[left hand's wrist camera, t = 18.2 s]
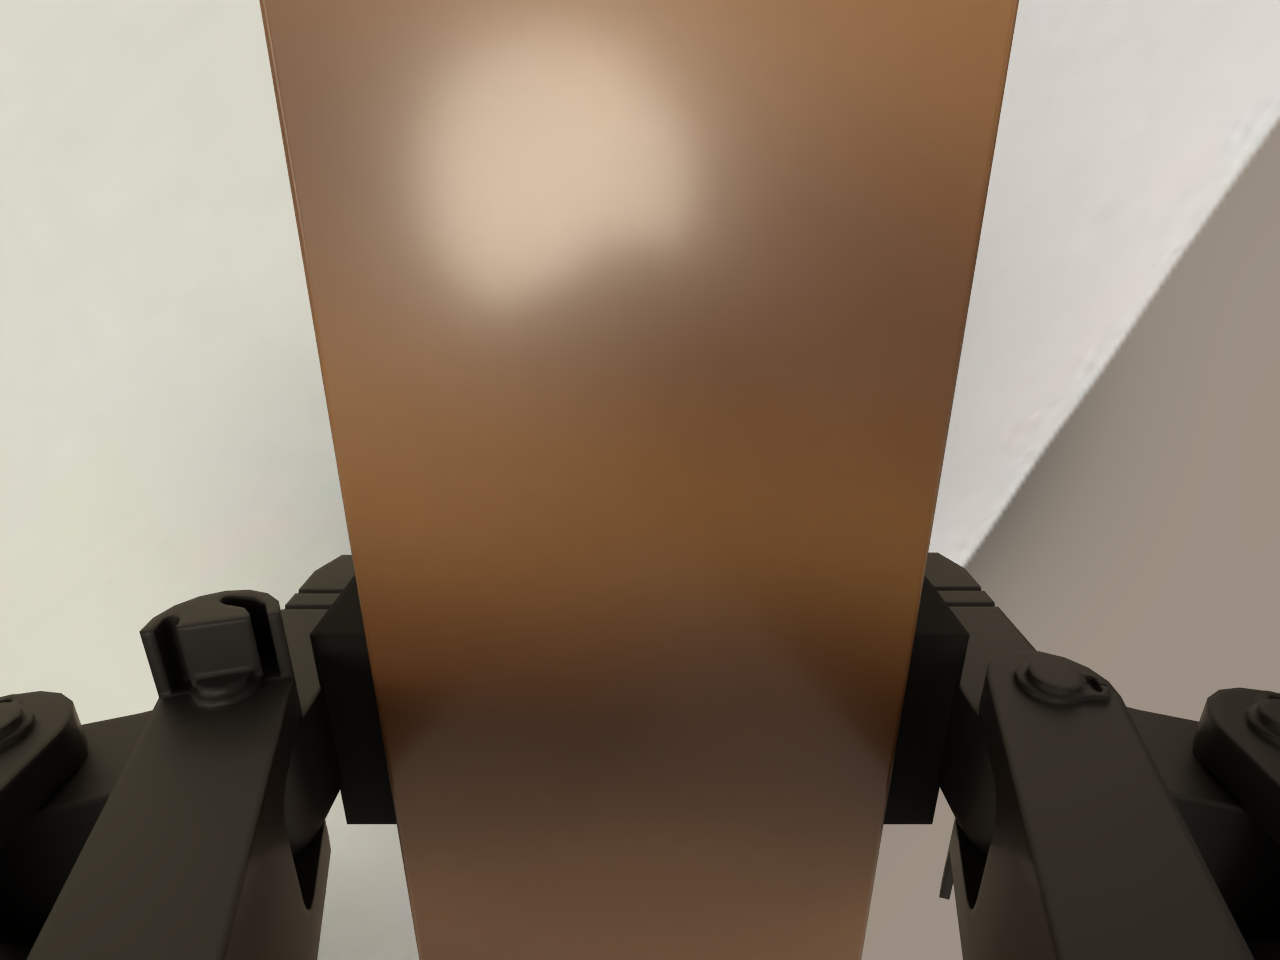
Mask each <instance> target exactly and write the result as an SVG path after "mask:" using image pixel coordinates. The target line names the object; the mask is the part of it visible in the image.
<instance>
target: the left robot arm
mask: <svg viewBox="0 0 1280 960" xmlns="http://www.w3.org/2000/svg"><path fill="white" fill-rule="evenodd" d="M994 604H995V603H994V602H993V600H992V599H991V598H990V597H989V596H988V595H987V594H986V592H985V591H981V587H980V586H979V584H978V583H977V582H976V581H975V580H974V579H973V578H972V576H971V575H970V574H969V573H968V572H967V571H966V570H965V568H963V567H961V566H959V565H958V564H956V563H954V562H953V561H951V560H949V559H947V558H946V557H944V556H942V555H941V554H939V553H928V556H927V562H926V568H925V574H924V580H923V586H922V592H921V599H920V605H919V611H918V617H917V623H916V629H915V635H914V641H913V647H912V653H911V659H910V665H909V671H908V678H907V684H906V690H905V696H904V702H903V708H902V714H901V720H900V726H899V732H898V738H897V744H896V751H895V757H894V763H893V769H892V775H891V781H890V787H889V793H888V799H887V805H886V811H885V817H884V823H883V824H932V822H933V817H934V812H935V807H936V802H937V797H938V792H939V787H940V788H941V790H942V792H943V794H944V796H945V798H946V800H947V802H948V804H949V806H950V808H951V810H952V812H953V814H954V816H955V821H954V826H953V830H952V835H951V840H950V844H949V849H948V854H947V859H946V863H945V868H944V873H943V877H942V882H941V889H940V896H939V897H941V898H945V899H949V898H950V894H951V889H952V885H953V883H954V891H955V899H956V907H957V915H958V923H959V930H960V938H961V946H962V954H963V960H1280V693H1275V692H1271V691H1261V690H1254V689H1246V688H1232V689H1223V690H1218V691H1217V692H1215V693H1214V694H1213V695H1211V696H1210V697H1208V699H1207V702H1206V704H1205V707H1204V710H1203V713H1202V716H1201V718H1200V721H1199V722H1197V721H1192V720H1187V719H1182V718H1177V717H1172V716H1167V715H1162V714H1157V713H1152V712H1146V711H1141V710H1137V709H1133V708H1129V707H1126V706H1125V704H1124V702H1123V700H1122V698H1121V696H1120V695H1119V694H1118V692H1117V691H1116V690H1115V689H1114V688H1113V686H1112V685H1111V684H1110V683H1109V682H1108V681H1107V680H1106V679H1104V678H1103V677H1101V676H1100V675H1098V674H1097V673H1095V672H1094V671H1092V670H1091V669H1089V668H1088V667H1085V666H1083V665H1081V664H1078V663H1076V662H1074V661H1071V660H1069V659H1067V658H1064V657H1060V656H1056V655H1052V654H1048V653H1044V652H1040V651H1036V650H1035V648H1034V647H1033V646H1032V645H1031V644H1030V643H1029V642H1028V640H1027V639H1026V638H1025V637H1024V636H1023V635H1022V634H1021V632H1020V631H1019V630H1018V629H1017V628H1016V627H1015V626H1014V624H1013V623H1012V622H1011V621H1010V620H1009V619H1008V618H1007V616H1006V615H1005V614H1004V613H1003V612H1002V611H1001V610H1000V608H999V607H995V605H994ZM140 635H141V638H142V642H143V645H144V648H145V652H146V655H147V658H148V662H149V665H150V668H151V672H152V675H153V678H154V682H155V685H156V688H157V692H158V695H159V699H158V701H157V703H156V705H155V707H154V709H153V710H152V711H148V712H144V713H140V714H135V715H129V716H124V717H119V718H114V719H109V720H104V721H99V722H94V723H89V724H84V725H81V723H80V721H79V718H78V715H77V712H76V709H75V707H74V704H73V701H71V700H70V699H69V698H67V697H66V696H64V695H63V694H61V693H53V692H44V691H38V692H30V693H23V694H12V695H8V696H3V697H0V960H317V956H318V948H319V940H320V932H321V924H322V916H323V909H324V901H325V893H326V885H327V877H328V869H329V861H330V853H331V849H330V842H329V835H328V830H327V826H326V821H325V818H326V816H327V814H328V812H329V810H330V808H331V806H332V804H333V802H334V800H335V798H336V796H337V794H338V792H339V790H341V795H342V800H343V805H344V810H345V816H346V821H347V824H397V822H396V816H395V810H394V804H393V798H392V792H391V786H390V780H389V774H388V768H387V762H386V756H385V750H384V744H383V738H382V732H381V726H380V720H379V714H378V708H377V702H376V696H375V690H374V684H373V678H372V672H371V666H370V660H369V654H368V648H367V642H366V636H365V630H364V624H363V618H362V612H361V606H360V600H359V594H358V588H357V582H356V576H355V570H354V564H353V558H352V555H341V556H340V557H338V558H336V559H335V560H333V561H331V562H329V563H328V564H326V565H324V566H323V567H321V568H319V569H318V570H316V571H315V572H314V573H313V574H312V575H311V576H310V577H309V579H308V580H307V581H306V582H305V583H304V584H303V585H302V587H301V588H300V589H299V593H298V594H295V595H294V596H293V597H292V598H291V599H290V600H289V602H288V603H287V604H286V605H285V609H282V610H280V605H279V601H278V600H276V599H275V598H274V597H272V596H271V595H269V594H268V593H263V592H258V591H253V590H236V591H223V592H218V593H214V594H209V595H204V596H199V597H197V598H194V599H191V600H189V601H186V602H183V603H180V604H178V605H175V606H173V607H171V608H170V609H168V610H166V611H164V612H163V613H161V614H159V615H157V616H156V617H154V618H153V619H152V620H151V621H150V622H149V623H148V624H147V625H146V626H145V627H144V628H143V629H142V630H141V631H140Z"/></svg>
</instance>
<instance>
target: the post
mask: <svg viewBox="0 0 1280 960" xmlns="http://www.w3.org/2000/svg"><path fill="white" fill-rule="evenodd" d="M1018 3H1019V0H260V6H261V12H262V18H263V24H264V30H265V36H266V42H267V48H268V54H269V60H270V66H271V72H272V78H273V84H274V90H275V96H276V102H277V108H278V114H279V120H280V126H281V132H282V138H283V144H284V150H285V156H286V162H287V168H288V174H289V180H290V186H291V192H292V198H293V204H294V210H295V216H296V222H297V228H298V234H299V240H300V246H301V252H302V258H303V264H304V270H305V276H306V282H307V288H308V294H309V300H310V306H311V312H312V318H313V324H314V330H315V336H316V342H317V348H318V354H319V360H320V366H321V372H322V378H323V384H324V390H325V396H326V402H327V408H328V414H329V420H330V426H331V432H332V438H333V444H334V450H335V456H336V462H337V468H338V474H339V480H340V486H341V492H342V498H343V504H344V510H345V516H346V522H347V528H348V534H349V540H350V546H351V552H352V558H353V564H354V570H355V576H356V582H357V588H358V594H359V600H360V606H361V612H362V618H363V624H364V630H365V636H366V642H367V648H368V654H369V660H370V666H371V672H372V678H373V684H374V690H375V696H376V702H377V708H378V714H379V720H380V726H381V732H382V738H383V744H384V750H385V756H386V762H387V768H388V774H389V780H390V786H391V792H392V798H393V804H394V810H395V816H396V822H397V828H398V834H399V840H400V846H401V852H402V858H403V864H404V870H405V876H406V882H407V888H408V894H409V900H410V906H411V912H412V918H413V924H414V930H415V936H416V942H417V948H418V954H419V960H861V957H862V951H863V945H864V939H865V933H866V927H867V921H868V915H869V909H870V902H871V896H872V890H873V884H874V878H875V872H876V866H877V860H878V854H879V848H880V842H881V836H882V829H883V823H884V817H885V811H886V805H887V799H888V793H889V787H890V781H891V775H892V769H893V763H894V757H895V751H896V744H897V738H898V732H899V726H900V720H901V714H902V708H903V702H904V696H905V690H906V684H907V678H908V671H909V665H910V659H911V653H912V647H913V641H914V635H915V629H916V623H917V617H918V611H919V605H920V599H921V592H922V586H923V580H924V574H925V568H926V562H927V556H928V550H929V544H930V538H931V532H932V526H933V520H934V513H935V507H936V501H937V495H938V489H939V483H940V477H941V471H942V465H943V459H944V453H945V447H946V441H947V434H948V428H949V422H950V416H951V410H952V404H953V398H954V392H955V386H956V380H957V374H958V368H959V361H960V355H961V349H962V343H963V337H964V331H965V325H966V319H967V313H968V307H969V301H970V295H971V289H972V282H973V276H974V270H975V264H976V258H977V252H978V246H979V240H980V234H981V228H982V222H983V216H984V210H985V203H986V197H987V191H988V185H989V179H990V173H991V167H992V161H993V155H994V149H995V143H996V137H997V130H998V124H999V118H1000V112H1001V106H1002V100H1003V94H1004V88H1005V82H1006V76H1007V70H1008V64H1009V58H1010V51H1011V45H1012V39H1013V33H1014V27H1015V21H1016V15H1017V9H1018Z"/></svg>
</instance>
